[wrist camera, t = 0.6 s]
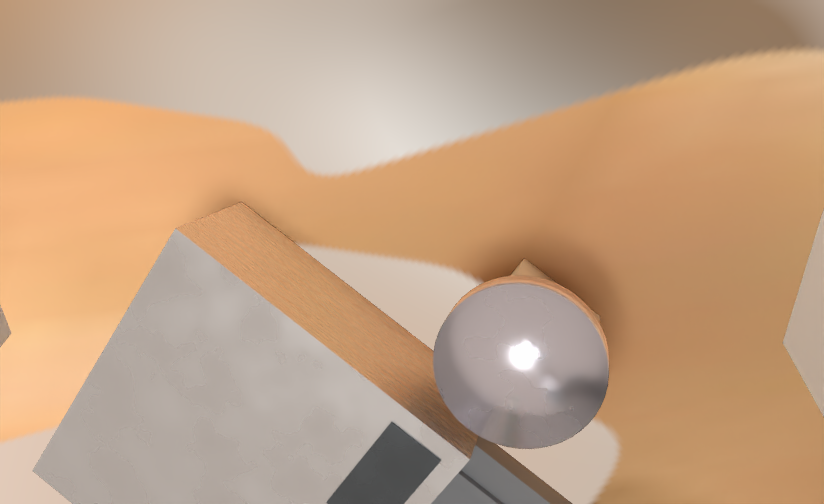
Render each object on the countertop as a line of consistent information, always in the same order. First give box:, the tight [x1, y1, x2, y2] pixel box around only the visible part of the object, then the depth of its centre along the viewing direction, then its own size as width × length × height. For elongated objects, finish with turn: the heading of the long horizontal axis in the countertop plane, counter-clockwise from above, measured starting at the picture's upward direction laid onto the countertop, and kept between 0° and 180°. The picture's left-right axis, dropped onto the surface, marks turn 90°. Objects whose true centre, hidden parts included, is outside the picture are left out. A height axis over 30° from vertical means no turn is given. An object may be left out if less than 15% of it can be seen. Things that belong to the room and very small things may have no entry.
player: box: [33, 202, 478, 504], centre depth 43 cm, size 18×18×7 cm
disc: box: [433, 275, 609, 449], centre depth 36 cm, size 8×8×2 cm
